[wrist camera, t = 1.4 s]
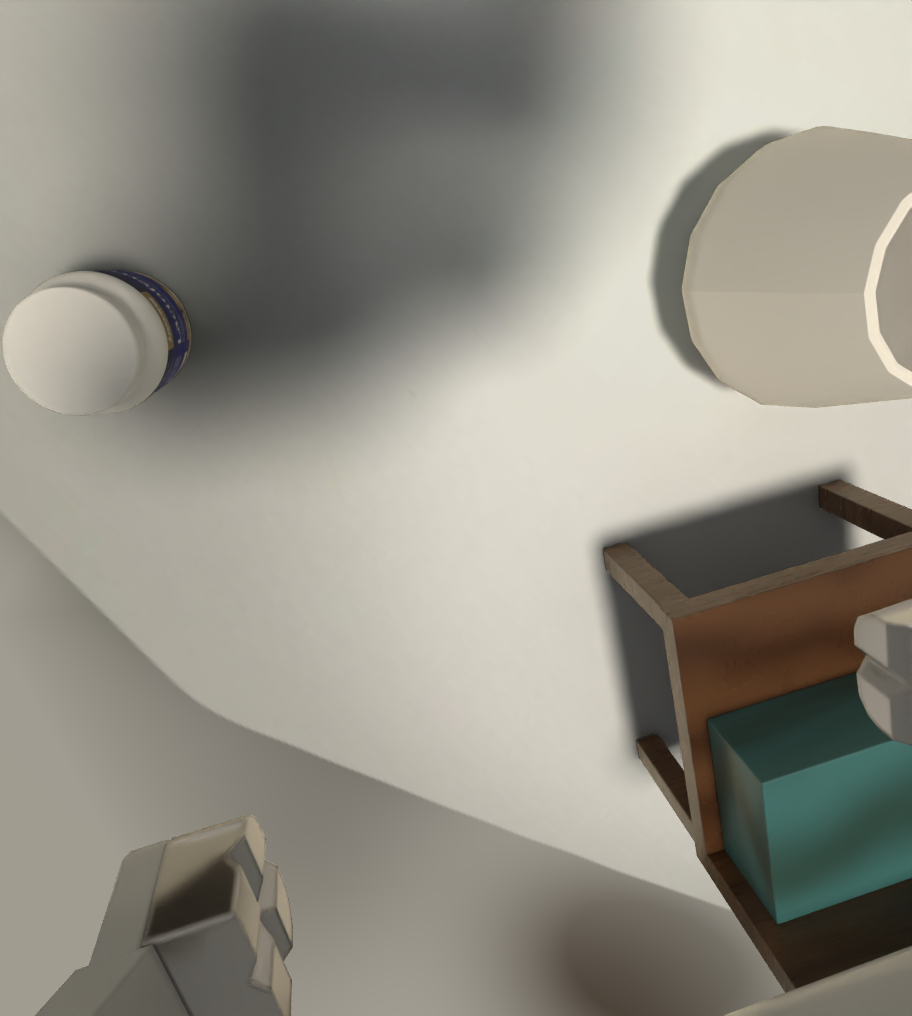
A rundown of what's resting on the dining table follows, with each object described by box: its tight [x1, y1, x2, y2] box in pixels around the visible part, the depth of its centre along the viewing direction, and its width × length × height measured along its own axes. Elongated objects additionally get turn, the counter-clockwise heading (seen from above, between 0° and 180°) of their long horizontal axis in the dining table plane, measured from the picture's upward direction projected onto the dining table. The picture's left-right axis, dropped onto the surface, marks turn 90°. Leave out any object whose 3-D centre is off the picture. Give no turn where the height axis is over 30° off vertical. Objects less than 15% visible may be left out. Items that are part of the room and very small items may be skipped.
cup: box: [682, 126, 912, 408], centre depth 35 cm, size 13×13×14 cm
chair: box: [603, 480, 912, 993], centre depth 36 cm, size 16×16×27 cm
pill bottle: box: [2, 270, 191, 416], centre depth 32 cm, size 6×6×10 cm
